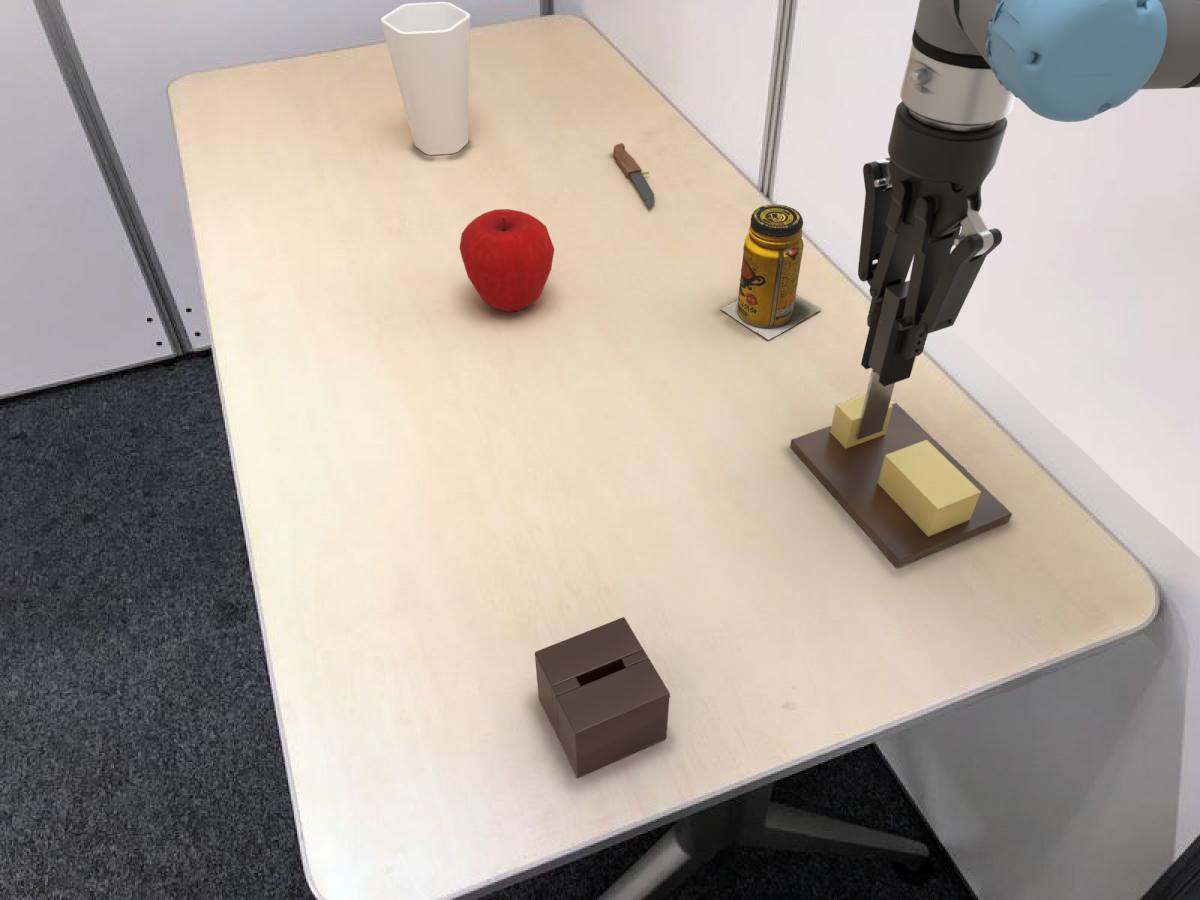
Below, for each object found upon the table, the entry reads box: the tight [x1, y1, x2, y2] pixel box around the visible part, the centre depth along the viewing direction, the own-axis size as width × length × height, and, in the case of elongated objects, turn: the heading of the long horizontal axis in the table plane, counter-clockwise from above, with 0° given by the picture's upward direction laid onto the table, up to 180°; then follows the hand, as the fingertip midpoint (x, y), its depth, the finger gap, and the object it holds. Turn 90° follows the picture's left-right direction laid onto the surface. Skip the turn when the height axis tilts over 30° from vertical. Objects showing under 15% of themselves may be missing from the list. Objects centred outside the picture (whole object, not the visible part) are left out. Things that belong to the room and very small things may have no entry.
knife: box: [613, 142, 656, 209], centre depth 126 cm, size 17×1×3 cm
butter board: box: [789, 402, 1013, 568], centre depth 87 cm, size 16×12×1 cm
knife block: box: [534, 616, 671, 778], centre depth 68 cm, size 7×7×6 cm
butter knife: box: [856, 279, 910, 440], centre depth 83 cm, size 2×3×16 cm, turn 115°
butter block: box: [877, 440, 981, 537], centre depth 83 cm, size 7×4×4 cm, turn 25°
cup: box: [380, 1, 471, 156], centre depth 128 cm, size 11×10×17 cm
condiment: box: [719, 204, 823, 341], centre depth 102 cm, size 7×8×12 cm
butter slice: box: [830, 393, 893, 449], centre depth 89 cm, size 2×4×4 cm, turn 115°
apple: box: [459, 208, 555, 313], centre depth 103 cm, size 10×10×11 cm
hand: (885, 370), depth 83 cm, fingers closed on butter knife, 2 cm apart
